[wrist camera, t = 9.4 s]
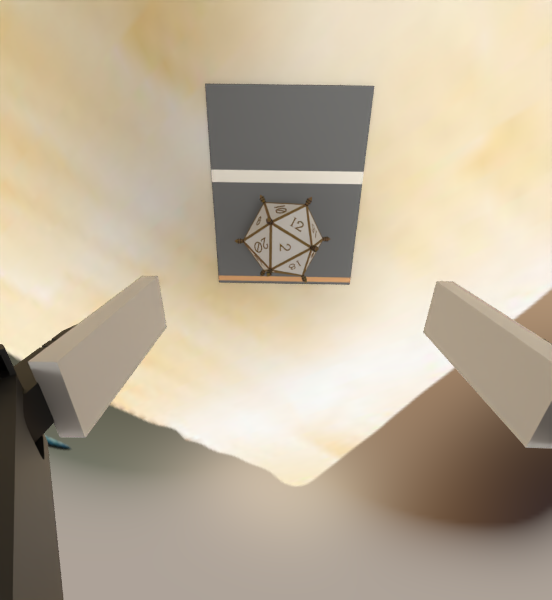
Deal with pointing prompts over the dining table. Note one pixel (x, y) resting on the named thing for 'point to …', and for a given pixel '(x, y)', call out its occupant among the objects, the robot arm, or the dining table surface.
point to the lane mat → (287, 169)
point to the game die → (283, 238)
